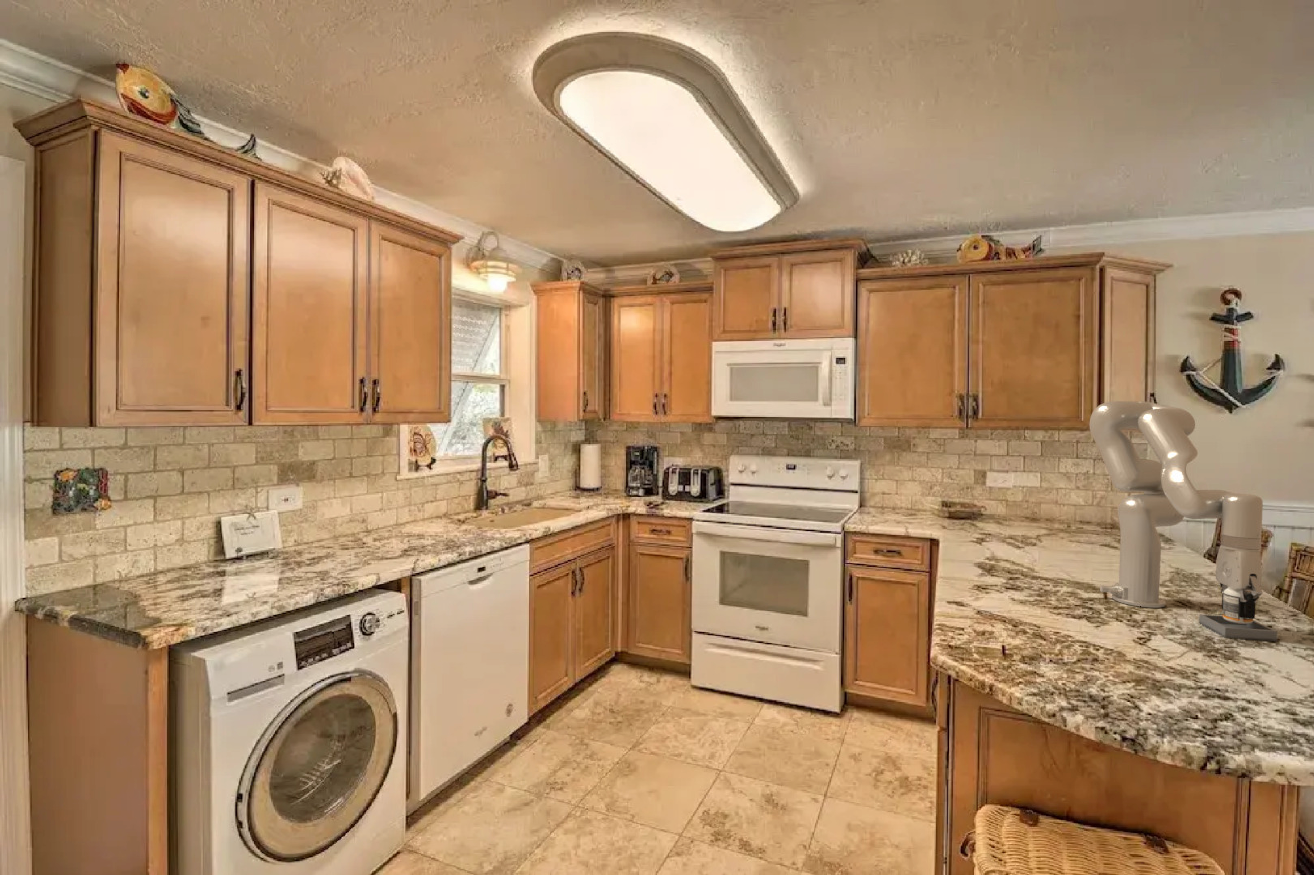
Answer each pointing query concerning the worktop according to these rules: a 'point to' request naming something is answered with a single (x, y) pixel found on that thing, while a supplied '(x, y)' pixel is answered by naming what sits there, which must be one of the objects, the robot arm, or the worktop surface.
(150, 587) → the worktop surface
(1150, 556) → the robot arm
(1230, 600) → the pill bottle
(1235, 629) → the tray
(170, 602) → the worktop surface
